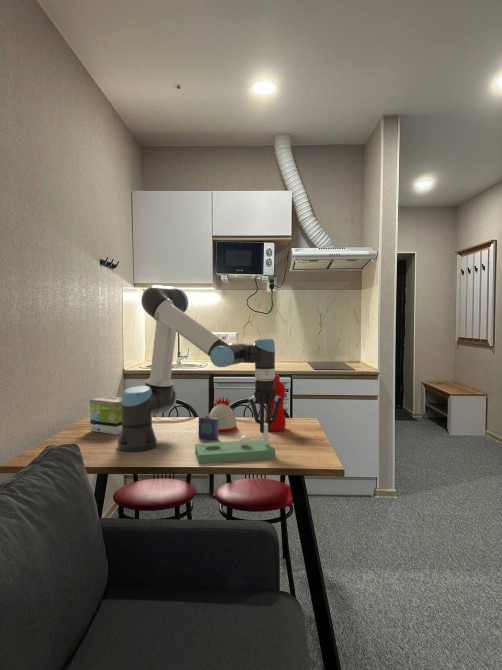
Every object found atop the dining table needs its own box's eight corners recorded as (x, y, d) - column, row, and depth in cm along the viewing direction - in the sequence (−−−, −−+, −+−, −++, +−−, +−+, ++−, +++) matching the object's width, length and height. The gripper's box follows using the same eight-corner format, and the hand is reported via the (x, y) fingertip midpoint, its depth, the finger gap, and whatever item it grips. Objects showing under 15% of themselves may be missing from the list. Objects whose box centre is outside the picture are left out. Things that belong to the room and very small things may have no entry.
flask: (219, 438, 188) (219, 413, 187) (216, 440, 185) (216, 415, 184) (200, 436, 191) (199, 412, 190) (196, 438, 188) (196, 413, 188)
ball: (240, 447, 164) (240, 437, 164) (238, 444, 168) (238, 434, 168) (251, 447, 165) (250, 436, 165) (248, 444, 169) (248, 433, 169)
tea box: (89, 431, 200) (88, 399, 199) (104, 426, 209) (104, 395, 208) (116, 435, 194) (116, 401, 193) (131, 429, 203) (130, 397, 203)
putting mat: (198, 463, 156) (198, 455, 156) (195, 451, 170) (195, 443, 170) (275, 457, 162) (275, 449, 162) (265, 446, 176) (265, 439, 176)
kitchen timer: (235, 432, 197) (235, 399, 197) (205, 432, 198) (204, 399, 197) (237, 425, 211) (237, 393, 210) (208, 425, 211) (208, 393, 211)
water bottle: (286, 426, 208) (286, 373, 207) (284, 432, 197) (284, 376, 196) (267, 425, 210) (266, 373, 209) (263, 431, 199) (263, 376, 198)
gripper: (250, 381, 162) (250, 444, 163) (284, 380, 165) (284, 442, 166) (246, 378, 170) (246, 439, 171) (278, 377, 172) (279, 437, 173)
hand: (265, 440), depth 168 cm, fingers closed
